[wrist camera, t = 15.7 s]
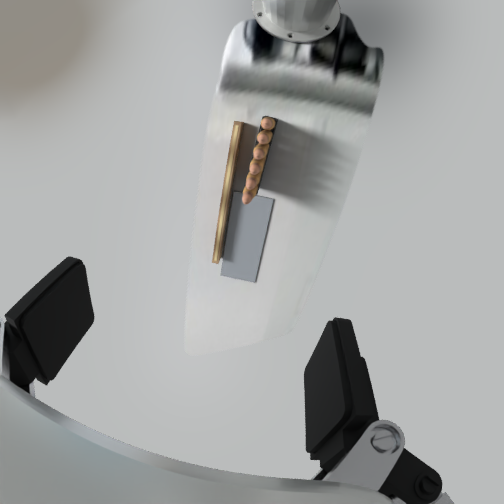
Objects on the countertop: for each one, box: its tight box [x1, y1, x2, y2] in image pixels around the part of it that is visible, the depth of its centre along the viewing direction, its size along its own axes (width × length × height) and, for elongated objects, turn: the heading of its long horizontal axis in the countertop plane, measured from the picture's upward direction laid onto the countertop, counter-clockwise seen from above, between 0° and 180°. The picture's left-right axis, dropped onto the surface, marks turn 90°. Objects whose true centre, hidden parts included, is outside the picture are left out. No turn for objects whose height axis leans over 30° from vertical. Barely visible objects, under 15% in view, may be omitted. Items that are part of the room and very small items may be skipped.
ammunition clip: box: [242, 116, 278, 204], centre depth 33 cm, size 11×2×12 cm, turn 166°
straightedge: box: [212, 121, 244, 264], centre depth 40 cm, size 22×1×3 cm, turn 170°
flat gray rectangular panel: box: [221, 191, 273, 282], centre depth 45 cm, size 15×6×1 cm, turn 170°
